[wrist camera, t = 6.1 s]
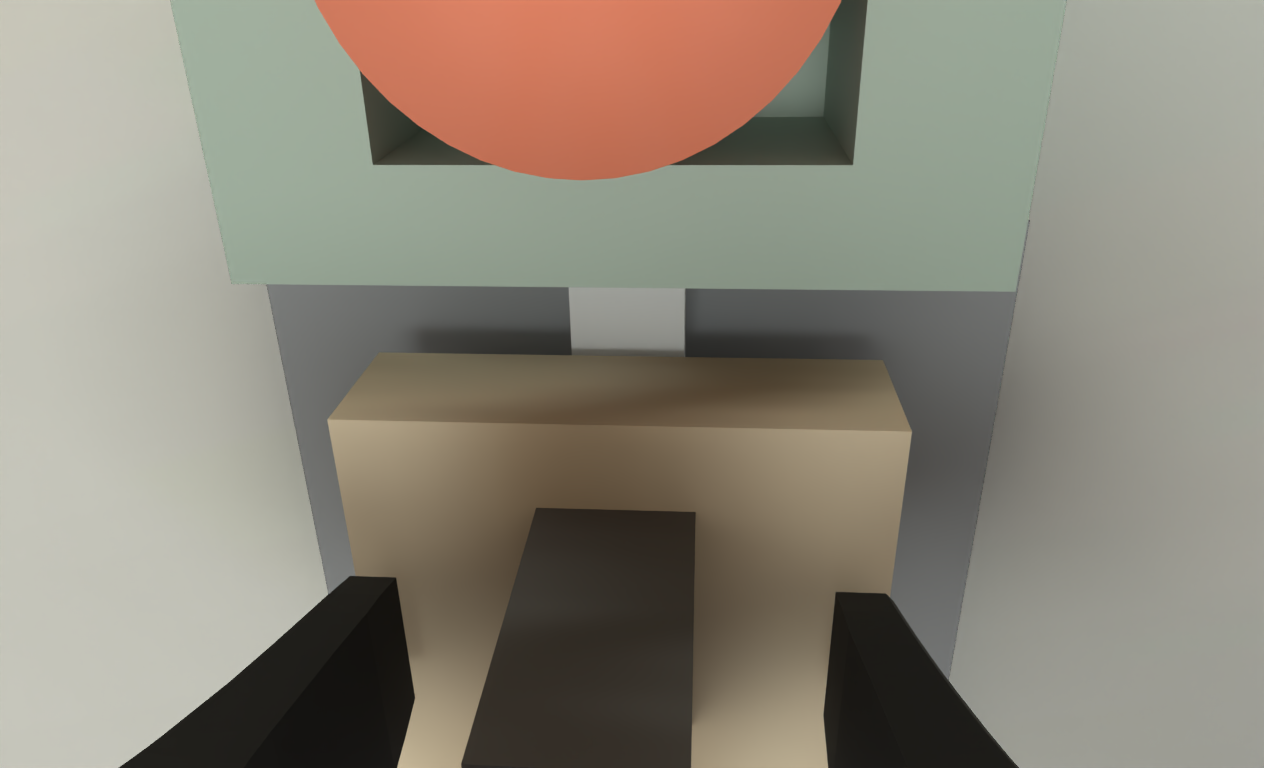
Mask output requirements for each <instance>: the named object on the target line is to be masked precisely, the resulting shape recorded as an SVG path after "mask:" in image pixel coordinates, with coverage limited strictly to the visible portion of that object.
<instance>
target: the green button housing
mask: <svg viewBox="0 0 1264 768" xmlns="http://www.w3.org/2000/svg"><path fill="white" fill-rule="evenodd" d="M170 2H171V7H172V11H173V16H174V21H175V25H176V30H177V34H178V39H179V44H180V48H181V53H182V57H183V62H184V67H185V71H186V76H187V80H188V85H189V90H190V94H191V99H192V103H193V108H194V113H195V117H196V122H197V127H198V131H199V136H200V140H201V145H202V150H203V154H204V159H205V163H206V168H207V173H208V177H209V182H210V186H211V191H212V196H213V200H214V205H215V209H216V214H217V219H218V223H219V228H220V232H221V237H222V242H223V246H224V251H225V255H226V260H227V265H228V269H229V274H230V278H231V283H232V284H290V285H391V286H492V287H593V288H694V289H794V290H895V291H996V292H1016V287H1017V281H1018V275H1019V269H1020V264H1021V258H1022V252H1023V247H1024V241H1025V235H1026V230H1027V224H1028V218H1029V213H1030V207H1031V201H1032V196H1033V190H1034V184H1035V178H1036V173H1037V167H1038V161H1039V156H1040V150H1041V144H1042V139H1043V133H1044V127H1045V122H1046V116H1047V110H1048V104H1049V99H1050V93H1051V87H1052V82H1053V76H1054V70H1055V65H1056V59H1057V53H1058V48H1059V42H1060V36H1061V31H1062V25H1063V19H1064V13H1065V8H1066V2H1067V0H841V3H840V5H839V7H838V8H837V10H836V12H835V14H834V16H833V18H832V20H831V21H830V23H829V25H828V27H827V29H826V31H825V33H824V35H823V36H822V38H821V40H820V41H819V43H818V44H817V46H816V47H815V48H814V50H813V51H812V53H811V54H810V56H809V57H808V58H807V60H806V61H805V63H804V64H803V65H802V67H801V68H800V70H799V71H798V72H797V74H796V75H795V76H794V77H793V78H792V79H791V80H790V81H789V82H788V83H787V85H786V86H785V87H784V88H783V89H782V90H781V91H780V92H779V93H778V95H777V96H776V97H775V98H774V99H773V100H772V101H771V102H770V103H769V104H767V105H766V106H765V107H764V108H763V109H762V110H761V111H759V112H758V113H757V114H756V115H755V116H754V117H752V118H751V119H750V120H749V121H748V122H747V123H745V124H744V125H743V126H741V127H740V128H738V129H737V130H735V131H734V132H732V133H731V134H729V135H728V136H726V137H725V138H723V139H722V140H720V141H719V142H717V143H716V144H714V145H712V146H710V147H708V148H706V149H704V150H702V151H700V152H698V153H696V154H694V155H692V156H690V157H688V158H686V159H684V160H682V161H679V162H676V163H673V164H670V165H667V166H664V167H661V168H658V169H655V170H652V171H649V172H645V173H640V174H634V175H629V176H624V177H619V178H612V179H596V180H567V179H552V178H544V177H539V176H534V175H529V174H524V173H519V172H514V171H511V170H508V169H505V168H502V167H499V166H496V165H493V164H490V163H487V162H484V161H481V160H479V159H477V158H475V157H472V156H470V155H468V154H466V153H464V152H462V151H460V150H458V149H456V148H454V147H452V146H450V145H448V144H446V143H445V142H443V141H442V140H440V139H438V138H437V137H435V136H434V135H432V134H431V133H429V132H428V131H426V130H424V129H423V128H421V127H420V126H418V125H417V124H416V123H415V122H413V121H412V120H411V119H410V118H408V117H407V116H406V115H405V114H404V113H402V112H401V111H400V110H399V109H398V108H396V107H395V106H394V105H393V104H391V103H390V102H389V101H388V100H387V99H386V98H385V97H384V96H383V95H382V94H381V93H380V92H379V90H378V89H377V88H376V87H375V86H374V85H373V84H372V83H371V82H370V81H369V80H368V79H367V78H366V77H365V76H364V75H363V74H362V72H361V71H360V70H359V68H358V67H357V66H356V65H355V63H354V62H353V61H352V59H351V58H350V57H349V55H348V54H347V53H346V51H345V50H344V49H343V48H342V46H341V45H340V44H339V42H338V40H337V39H336V37H335V35H334V34H333V32H332V30H331V29H330V27H329V25H328V24H327V22H326V20H325V19H324V17H323V15H322V14H321V12H320V10H319V9H318V7H317V4H316V2H315V0H170Z"/></svg>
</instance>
